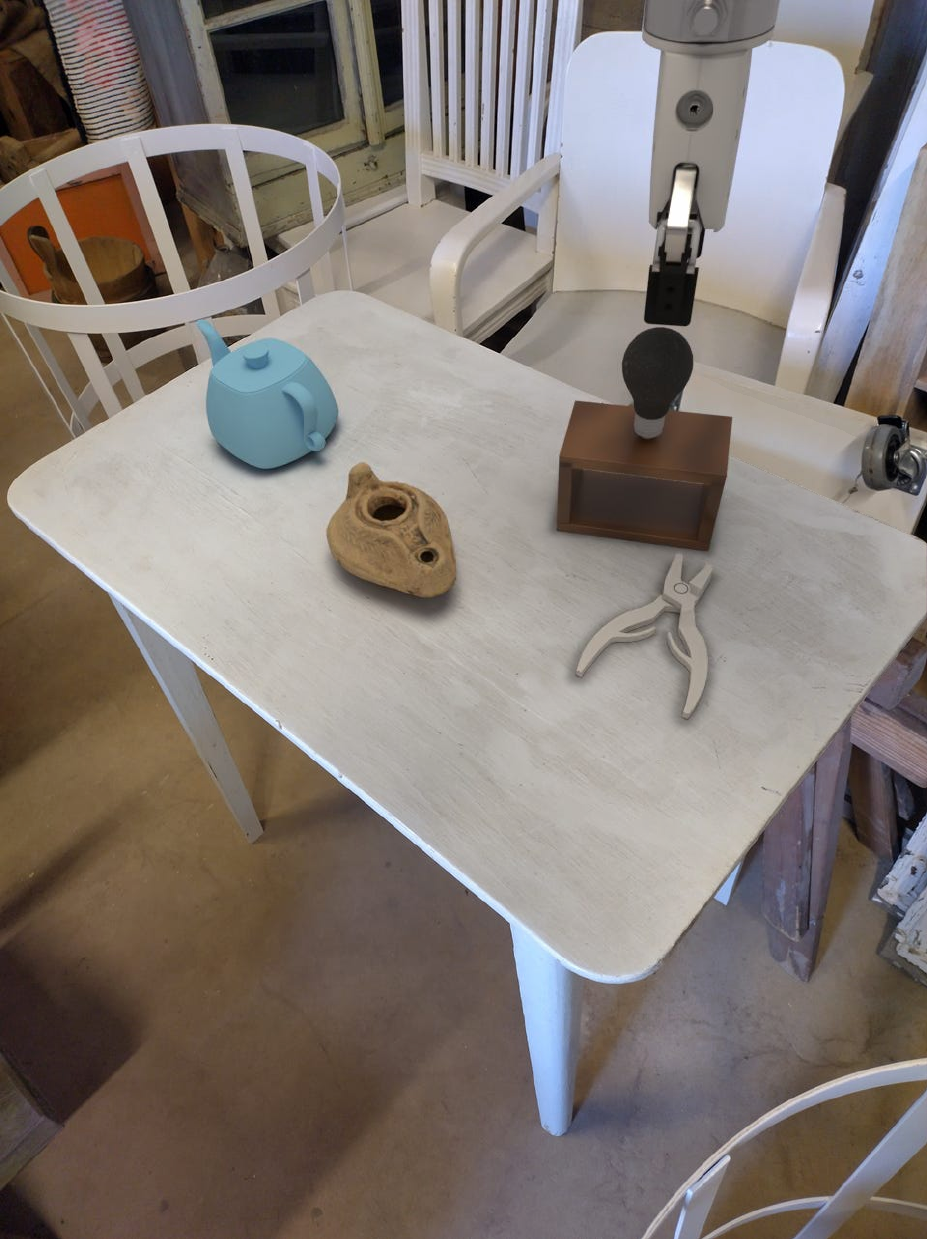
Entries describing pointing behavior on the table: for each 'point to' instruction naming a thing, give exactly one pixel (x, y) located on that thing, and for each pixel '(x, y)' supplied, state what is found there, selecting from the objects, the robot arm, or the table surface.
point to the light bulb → (655, 375)
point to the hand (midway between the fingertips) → (673, 287)
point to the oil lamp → (392, 535)
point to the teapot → (266, 400)
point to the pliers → (672, 600)
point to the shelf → (637, 508)
